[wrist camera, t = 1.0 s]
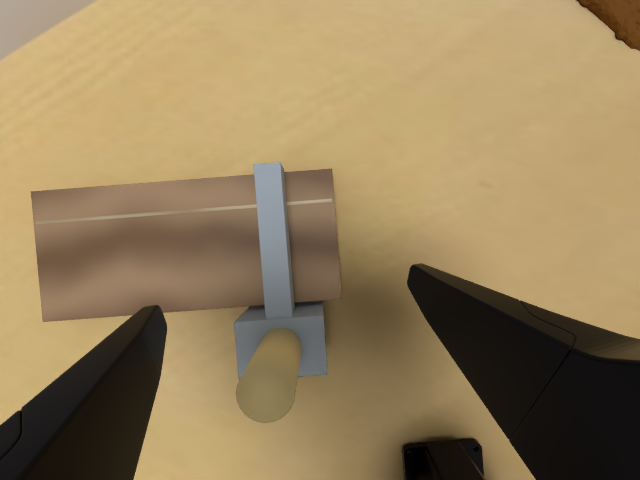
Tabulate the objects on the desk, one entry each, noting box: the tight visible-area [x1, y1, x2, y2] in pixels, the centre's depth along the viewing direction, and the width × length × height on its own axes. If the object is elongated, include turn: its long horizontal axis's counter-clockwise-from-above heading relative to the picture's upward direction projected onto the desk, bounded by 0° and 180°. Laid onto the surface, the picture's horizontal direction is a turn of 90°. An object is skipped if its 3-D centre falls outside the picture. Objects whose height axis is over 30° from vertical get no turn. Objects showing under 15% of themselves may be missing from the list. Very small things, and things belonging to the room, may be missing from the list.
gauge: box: [234, 162, 328, 423], centre depth 17 cm, size 14×6×10 cm, turn 4°
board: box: [31, 169, 342, 322], centre depth 21 cm, size 10×23×2 cm, turn 94°
